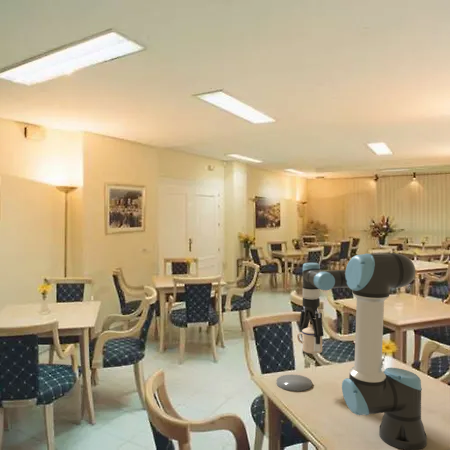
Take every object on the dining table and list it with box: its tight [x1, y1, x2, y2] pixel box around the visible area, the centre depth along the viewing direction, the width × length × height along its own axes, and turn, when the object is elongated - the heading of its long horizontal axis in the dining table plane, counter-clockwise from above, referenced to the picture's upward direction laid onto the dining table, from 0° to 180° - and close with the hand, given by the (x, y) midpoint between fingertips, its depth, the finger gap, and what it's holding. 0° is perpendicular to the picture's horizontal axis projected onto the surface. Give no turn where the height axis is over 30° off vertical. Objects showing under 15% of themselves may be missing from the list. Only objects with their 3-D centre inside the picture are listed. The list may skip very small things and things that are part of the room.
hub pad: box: [276, 374, 313, 392], centre depth 188 cm, size 16×16×1 cm
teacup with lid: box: [296, 324, 323, 355], centre depth 184 cm, size 12×9×12 cm
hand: (310, 347), depth 184 cm, fingers closed on teacup with lid, 9 cm apart
